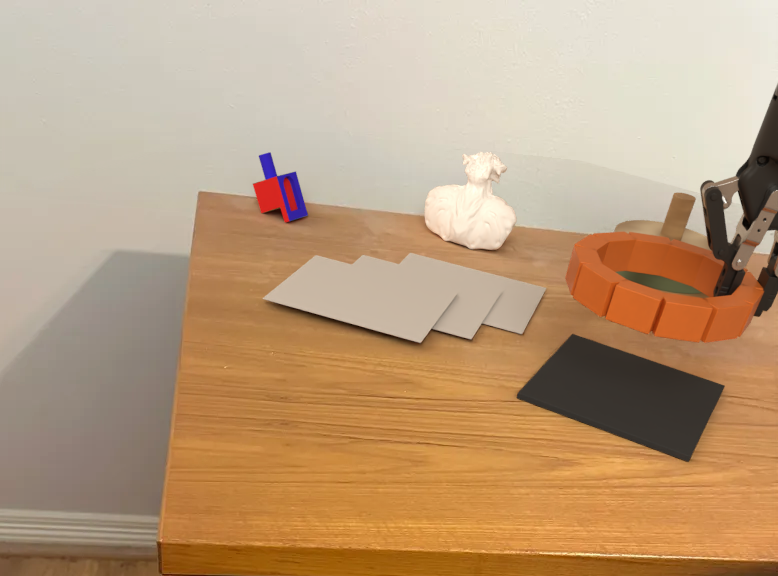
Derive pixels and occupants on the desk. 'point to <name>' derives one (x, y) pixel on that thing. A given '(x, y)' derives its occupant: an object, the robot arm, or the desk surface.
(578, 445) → the desk surface
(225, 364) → the desk surface
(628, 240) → the orange ring
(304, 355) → the desk surface
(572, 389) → the mat
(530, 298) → the paper stack
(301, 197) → the toy building block
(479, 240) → the bust
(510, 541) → the desk surface
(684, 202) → the ring stack
